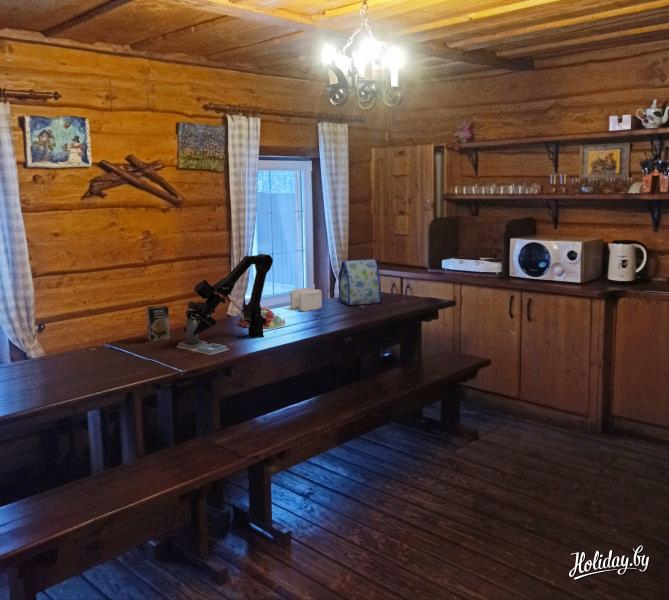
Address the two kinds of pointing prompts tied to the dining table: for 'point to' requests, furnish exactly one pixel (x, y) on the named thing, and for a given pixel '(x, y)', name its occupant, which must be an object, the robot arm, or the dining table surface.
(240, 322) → the candy landscape model
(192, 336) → the grey cylinder
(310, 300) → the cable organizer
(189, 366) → the dining table surface
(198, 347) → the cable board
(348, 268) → the lunch bag
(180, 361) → the dining table surface
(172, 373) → the dining table surface
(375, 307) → the dining table surface
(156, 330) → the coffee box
